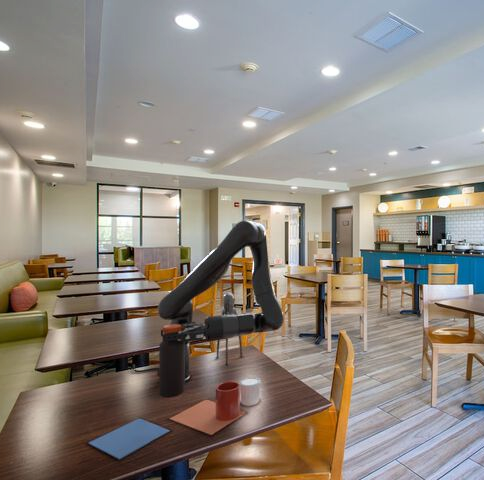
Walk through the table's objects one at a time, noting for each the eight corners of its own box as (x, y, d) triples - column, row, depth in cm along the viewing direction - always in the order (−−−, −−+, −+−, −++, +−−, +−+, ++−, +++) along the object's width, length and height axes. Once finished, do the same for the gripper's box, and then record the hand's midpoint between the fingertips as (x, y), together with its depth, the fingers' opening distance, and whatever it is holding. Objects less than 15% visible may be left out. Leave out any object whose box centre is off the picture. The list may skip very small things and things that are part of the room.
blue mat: (88, 443, 92) (88, 442, 92) (139, 419, 105) (139, 418, 105) (119, 459, 86) (119, 458, 86) (170, 431, 98) (170, 430, 98)
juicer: (242, 356, 159) (242, 291, 158) (226, 365, 148) (227, 295, 148) (224, 354, 162) (225, 290, 162) (208, 362, 152) (208, 294, 151)
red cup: (210, 417, 106) (210, 388, 106) (227, 407, 112) (228, 379, 112) (227, 423, 103) (227, 393, 102) (244, 412, 109) (244, 384, 109)
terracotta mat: (168, 419, 105) (168, 418, 105) (206, 400, 117) (206, 399, 117) (211, 435, 97) (211, 434, 97) (246, 413, 109) (246, 412, 109)
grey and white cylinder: (254, 408, 112) (255, 386, 112) (235, 405, 114) (235, 384, 113) (263, 398, 119) (264, 378, 119) (245, 396, 120) (245, 376, 120)
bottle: (189, 390, 104) (189, 325, 104) (169, 400, 98) (169, 330, 98) (175, 386, 107) (175, 322, 107) (154, 395, 101) (154, 327, 101)
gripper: (216, 311, 116) (159, 317, 107) (227, 320, 104) (164, 328, 95) (216, 333, 116) (159, 341, 107) (227, 345, 104) (164, 355, 95)
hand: (162, 335), depth 101 cm, fingers closed on bottle, 5 cm apart
